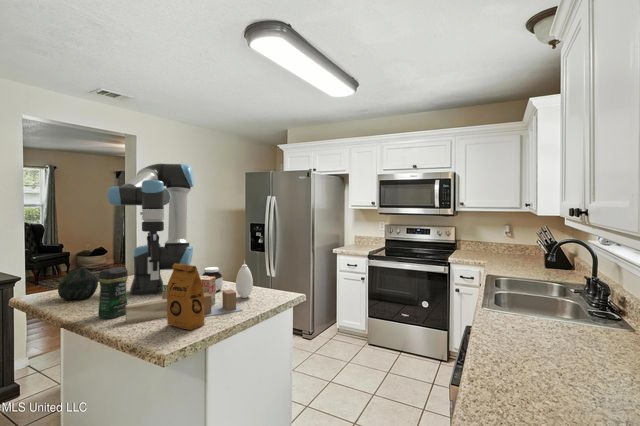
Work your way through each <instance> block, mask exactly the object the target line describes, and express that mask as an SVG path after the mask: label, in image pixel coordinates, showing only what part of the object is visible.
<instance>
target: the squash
mask: <svg viewBox="0 0 640 426" xmlns="http://www.w3.org/2000/svg"><path fill="white" fill-rule="evenodd" d="M57 286H58V287H57V292H58V293H57V294H58V296H59V297H60V298H61V299H63V300H64V301H65V300H73V299H74V300H78V299H79V300H86V299H88V298H91V297H92V296H93V295H94V294H95V293H96V291H97V289H98V287H99V279H98V277H97V276H96V275H95V274H94V273H93V272H91V271H90V270H89V269H87V268H85V267H79V268H77V269H74V270H72V271H69V272H67V273H66V274H64V276H62V278H61V279H60V280H59V283H58V285H57Z"/></svg>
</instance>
